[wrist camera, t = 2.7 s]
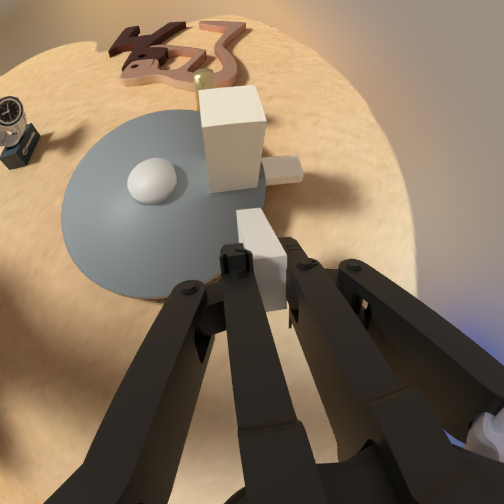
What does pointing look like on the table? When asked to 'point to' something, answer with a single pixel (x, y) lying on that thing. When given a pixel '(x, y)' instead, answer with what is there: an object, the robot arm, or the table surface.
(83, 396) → the table surface
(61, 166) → the table surface
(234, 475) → the table surface
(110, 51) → the wood carving
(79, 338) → the table surface
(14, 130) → the watch
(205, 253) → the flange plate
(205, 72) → the gold domed cylinder
